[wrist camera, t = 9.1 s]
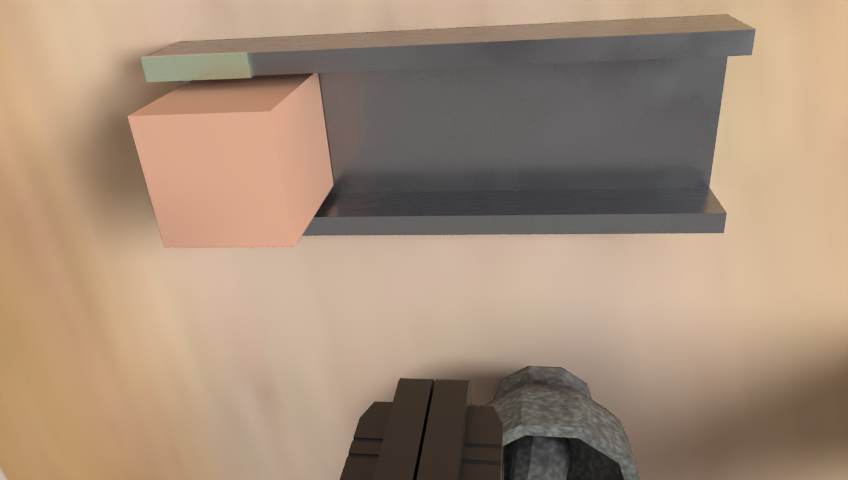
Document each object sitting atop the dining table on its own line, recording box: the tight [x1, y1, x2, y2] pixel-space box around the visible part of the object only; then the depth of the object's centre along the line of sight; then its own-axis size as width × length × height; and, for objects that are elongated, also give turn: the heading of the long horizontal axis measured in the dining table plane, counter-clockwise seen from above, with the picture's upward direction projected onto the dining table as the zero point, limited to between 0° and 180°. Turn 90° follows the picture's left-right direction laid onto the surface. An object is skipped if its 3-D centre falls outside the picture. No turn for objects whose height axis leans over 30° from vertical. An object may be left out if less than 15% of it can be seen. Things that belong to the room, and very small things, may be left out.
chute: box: [140, 15, 756, 235], centre depth 31 cm, size 26×9×4 cm, turn 94°
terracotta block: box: [128, 73, 334, 248], centre depth 30 cm, size 6×6×7 cm
